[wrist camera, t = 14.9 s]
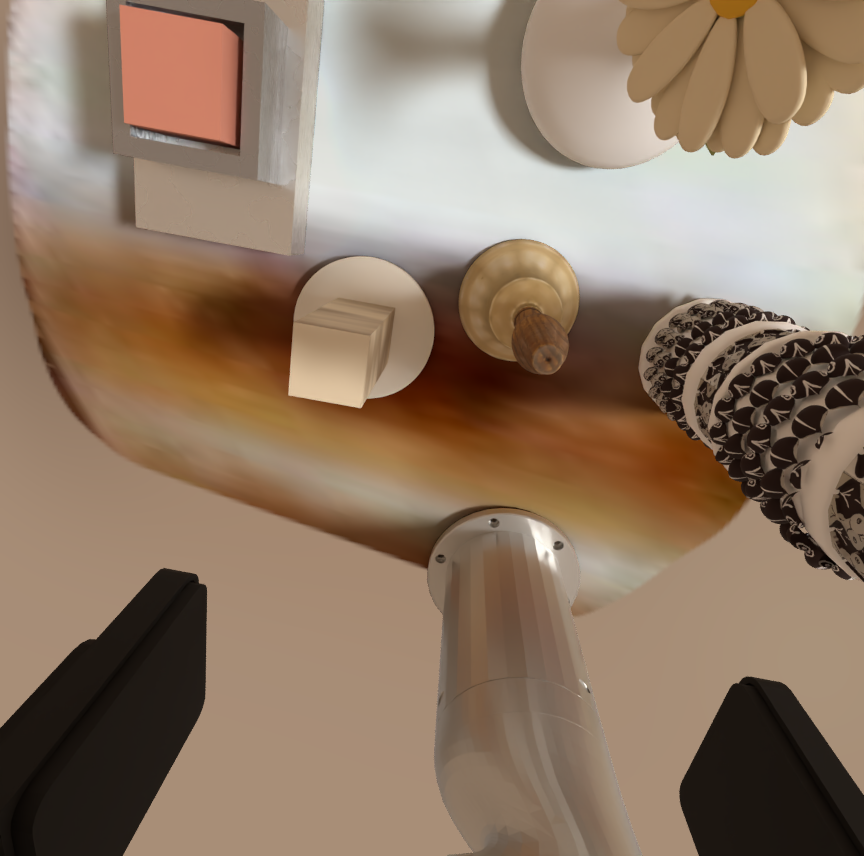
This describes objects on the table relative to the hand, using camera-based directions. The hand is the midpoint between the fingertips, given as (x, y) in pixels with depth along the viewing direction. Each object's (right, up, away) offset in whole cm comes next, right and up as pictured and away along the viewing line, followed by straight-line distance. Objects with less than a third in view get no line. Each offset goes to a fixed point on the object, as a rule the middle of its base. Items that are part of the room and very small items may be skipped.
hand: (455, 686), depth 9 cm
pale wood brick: (-5, +11, +28) cm, 30 cm away
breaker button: (-13, +24, +21) cm, 34 cm away
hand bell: (+6, +13, +27) cm, 31 cm away
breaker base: (-13, +25, +24) cm, 37 cm away
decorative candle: (+18, +9, +28) cm, 35 cm away
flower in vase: (+10, +25, +22) cm, 35 cm away
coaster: (-5, +12, +28) cm, 31 cm away
